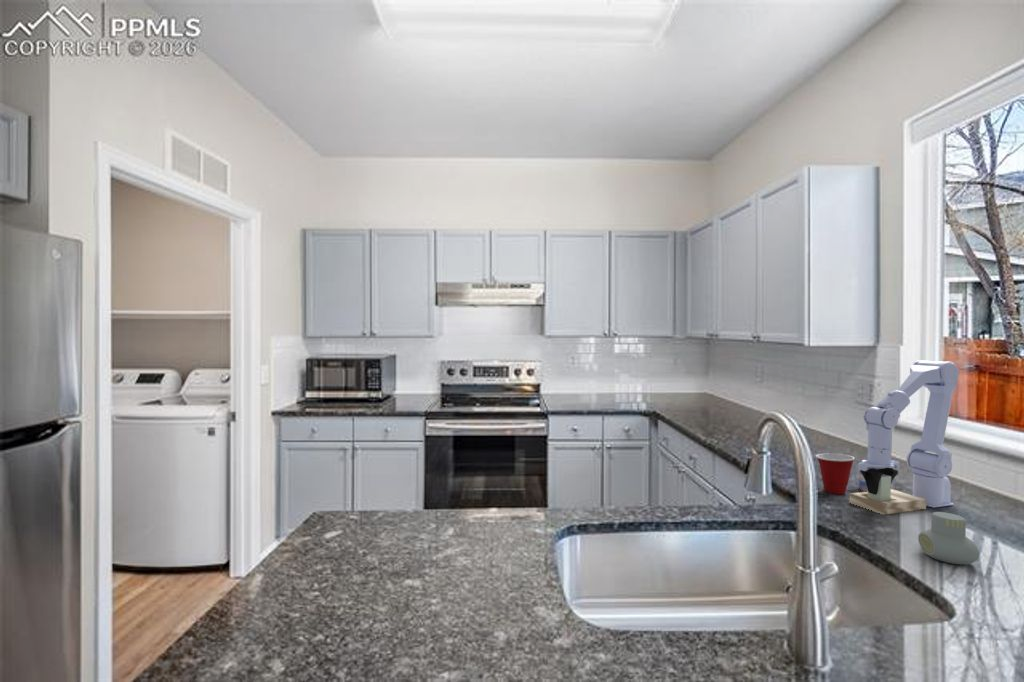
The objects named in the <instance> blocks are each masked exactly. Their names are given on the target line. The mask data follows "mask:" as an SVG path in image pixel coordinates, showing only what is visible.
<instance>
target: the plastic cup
mask: <svg viewBox="0 0 1024 682" xmlns="http://www.w3.org/2000/svg"><path fill="white" fill-rule="evenodd" d="M815 457H816V459H817V461H818V464H819V469H820V470H819V471H820V474H821V480H822V485H823V486H822V487H823V489H824V492H826V491H827V492H826V493H829V494H834V495H845V494H846V492H847V487H848V484H849V480H850V476H851V471H852V467H853V463H854V461H855V459H856V458H855V457H854V456H852V455H850V454H849V455H848V454H843V453H842V454H841V453H829V452H827V453H817V454H815Z"/></svg>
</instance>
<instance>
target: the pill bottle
mask: <svg viewBox="0 0 1024 682" xmlns="http://www.w3.org/2000/svg"><path fill="white" fill-rule="evenodd" d="M864 461H867V459H862V460H861V462H864ZM859 488H860V489H862V490H865V491H867V489H868V488H867V485H866V481H865V479H864V477H863V475H862V473H861V472H860V470H859V469H858V489H859ZM860 489H859V490H860ZM862 490H861V491H862ZM865 491H864V492H865Z"/></svg>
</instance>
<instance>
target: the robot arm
mask: <svg viewBox="0 0 1024 682" xmlns="http://www.w3.org/2000/svg"><path fill="white" fill-rule="evenodd" d="M959 375H960V371H959V368H958V367H957V366H956V364H955V363H954V362H953V361H935V360H934V361H933V360H922V359H918V360H915V361H914V363H913V364H912V365H911V366H910V367H909V375H908V376H907V377H906V378H905V380H904V382H902V384H901V385H900V387H899V388H898V389H897V390H893V389H892V390H890V391H889V392H887V393H886V395H885V396H884V397H883V399H881V401H879V402H878V403H877V404H876V406H872V407H869V408H867V409H866V411H865V412H864V414H863V422H864V423H865V425H866V431H867V437H868V438H867V459H866V460H867V461H864V462H862V461H861V462H858V464H857V470H858V471H859V470H860V472H861V473H862V475H863V477H864V479H865V481H866V485H867V488H868V492H869V493H872V494H875V495H876V494H877V492H878V486H879V481H880V478H881V476H882V475H883V474H884V475H888V476H891V484H892V483H893V481H894V479H895V478H896V476H897V475H898V474H899V471H898V470H897V469H900V461H898V460H894V459H892V449H893V448H892V446H893V445H892V444H893V428H895V427H896V426H897V425H898V423H899V418H900V417H901V413H902V412H903V411H904V410H905V409H906V408H907V407H908V406H909V405H910V403H911V400H910V397H912V396H913V395H914V394H915V393H916V392H918V390H920V389H921V388H922V387H924V388H926V389H927V390H928V391H929V397H928V403H927V407H926V413H925V418H924V422H923V428H922V433H921V438H920V440H919V441H917V442H915V443H914V444H912V445H911V446H910V450H909V452H908V453H907V455H906V459H905V460H906V465H907V466H908V467H909V469H910V471H911V472H912V473H913V474H912V475H913V476H912V495H914V496H917V497H921V498H924V499H926V507H931V508H940V507H947V506H954V505H955V504H954V503H953V502H951V491H952V490H951V488H952V483H951V481H950V479H949V478H948V477H947V476H949V474H950V473H951V472H952V469H953V463H952V457H953V456H952V455H953V454H952V452H950V450H948V448H947V447H945V446H944V440H945V436H946V431H947V425H948V421H949V415H950V410H951V405H952V400H953V396H954V391H956V389H957V385H958V382H959V381H958V379H959Z"/></svg>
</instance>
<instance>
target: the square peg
mask: <svg viewBox="0 0 1024 682" xmlns="http://www.w3.org/2000/svg"><path fill="white" fill-rule="evenodd" d="M891 489H892V483H891V476H888V475H884V474H883V475H882V476H881V478H880V481H879V486H878V492H877V494H876V495H875V494H872V493H869V492H868V489H867V497H868V498H871V499H874V500H877V501H880V502H884V501H890V498H891Z"/></svg>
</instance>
